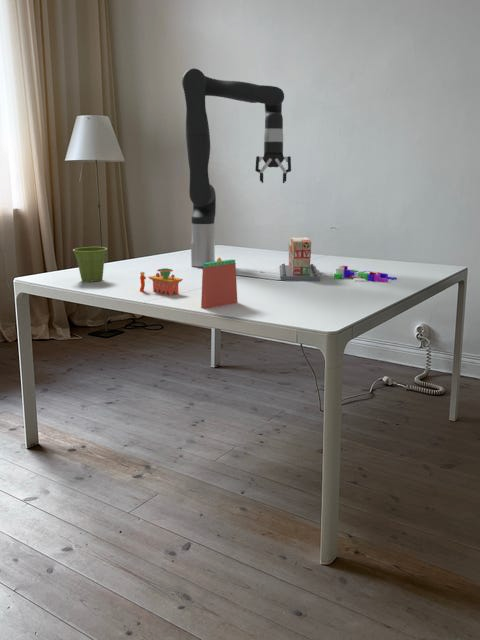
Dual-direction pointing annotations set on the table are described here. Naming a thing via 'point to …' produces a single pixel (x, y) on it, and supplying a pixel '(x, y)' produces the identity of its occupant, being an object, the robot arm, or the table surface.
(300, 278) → the baseplate
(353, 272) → the building block set
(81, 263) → the plant pot
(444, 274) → the table surface
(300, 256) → the stack of blocks
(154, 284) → the toy building block set
